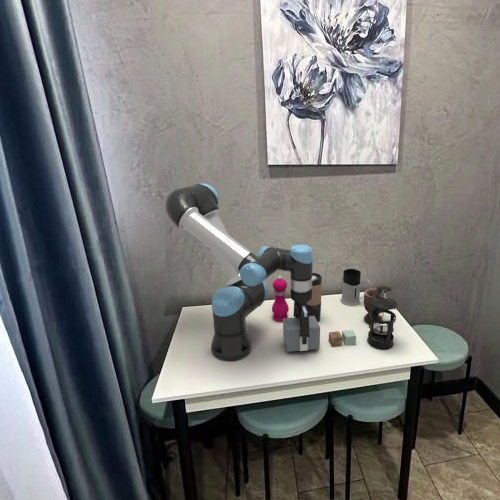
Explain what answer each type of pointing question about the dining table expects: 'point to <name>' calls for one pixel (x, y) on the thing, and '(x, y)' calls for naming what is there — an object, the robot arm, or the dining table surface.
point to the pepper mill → (280, 300)
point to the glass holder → (351, 287)
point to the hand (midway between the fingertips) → (301, 343)
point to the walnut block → (335, 339)
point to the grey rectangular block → (293, 331)
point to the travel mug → (315, 297)
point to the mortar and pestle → (370, 295)
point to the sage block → (349, 337)
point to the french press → (381, 321)
